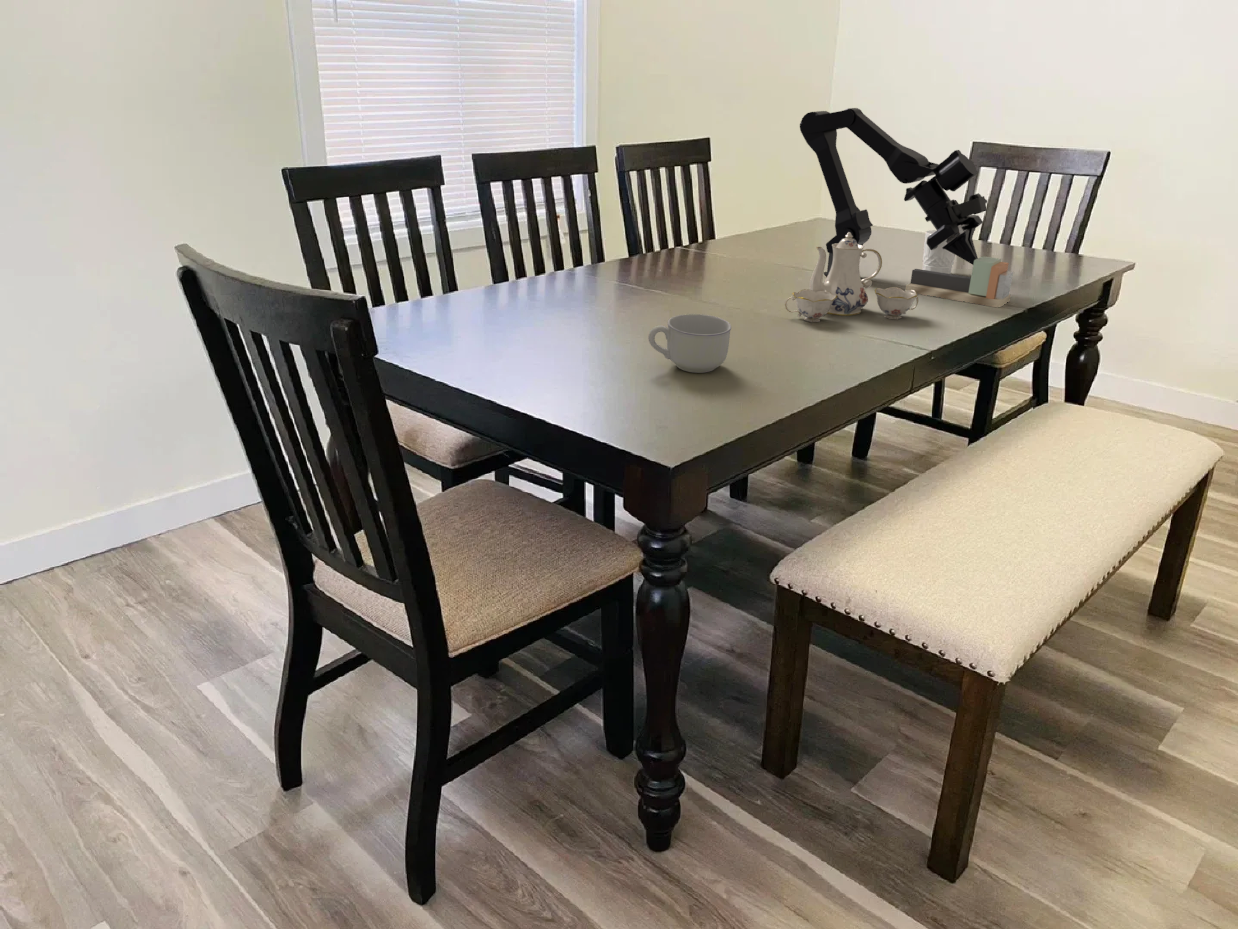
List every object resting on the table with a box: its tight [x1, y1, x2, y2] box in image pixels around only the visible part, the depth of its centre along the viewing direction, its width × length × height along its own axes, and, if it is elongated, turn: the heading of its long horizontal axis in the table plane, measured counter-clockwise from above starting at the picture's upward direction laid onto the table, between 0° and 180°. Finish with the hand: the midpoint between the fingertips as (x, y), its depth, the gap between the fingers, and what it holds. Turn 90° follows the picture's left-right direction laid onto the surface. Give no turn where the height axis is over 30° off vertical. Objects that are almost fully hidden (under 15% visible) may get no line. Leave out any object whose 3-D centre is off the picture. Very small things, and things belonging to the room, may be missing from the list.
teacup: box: [648, 313, 732, 374], centre depth 155 cm, size 14×11×8 cm
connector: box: [995, 270, 1014, 300], centre depth 198 cm, size 1×5×5 cm, turn 142°
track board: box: [904, 282, 1011, 308], centre depth 205 cm, size 21×7×2 cm, turn 52°
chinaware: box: [784, 232, 919, 323], centre depth 187 cm, size 28×17×17 cm, turn 105°
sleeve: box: [968, 256, 1002, 296], centre depth 200 cm, size 4×6×7 cm
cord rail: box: [910, 268, 971, 293], centre depth 204 cm, size 20×2×3 cm, turn 52°
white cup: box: [921, 229, 956, 274], centre depth 223 cm, size 8×8×10 cm
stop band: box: [986, 261, 1010, 299], centre depth 198 cm, size 2×6×7 cm, turn 142°
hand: (976, 263), depth 200 cm, fingers closed, pressing on sleeve
